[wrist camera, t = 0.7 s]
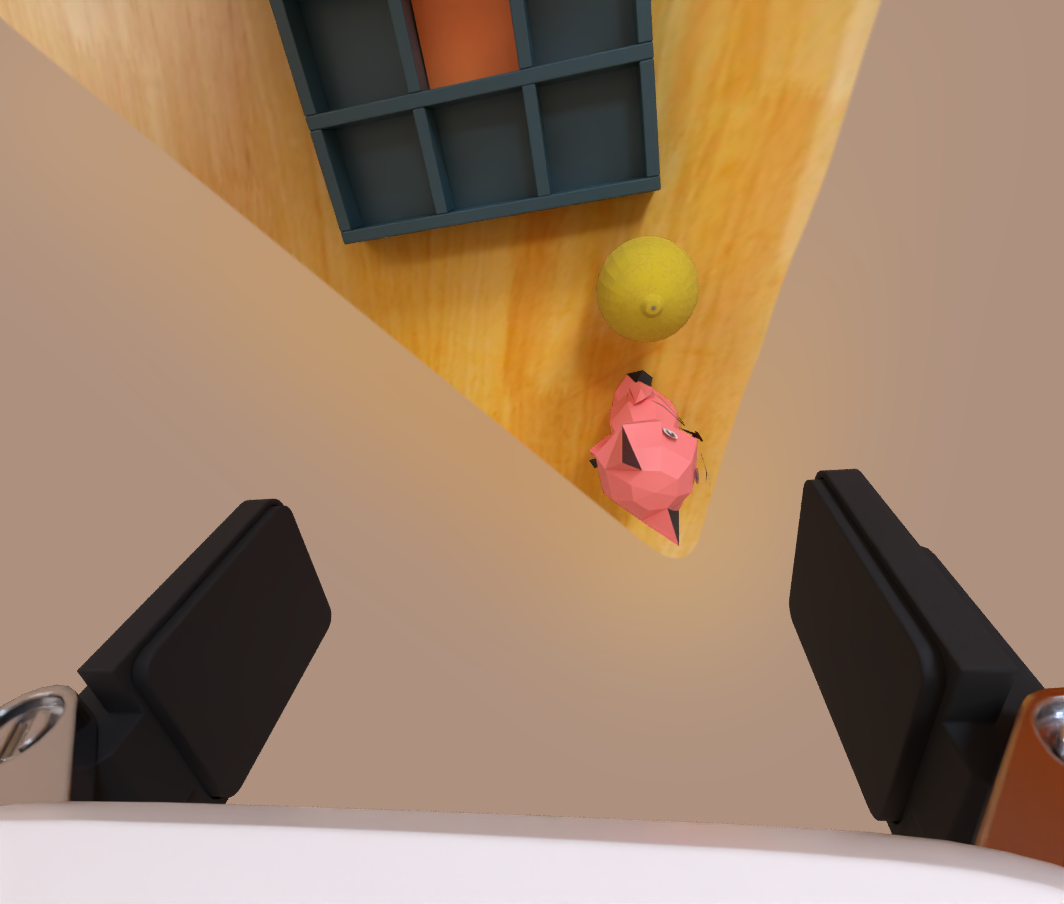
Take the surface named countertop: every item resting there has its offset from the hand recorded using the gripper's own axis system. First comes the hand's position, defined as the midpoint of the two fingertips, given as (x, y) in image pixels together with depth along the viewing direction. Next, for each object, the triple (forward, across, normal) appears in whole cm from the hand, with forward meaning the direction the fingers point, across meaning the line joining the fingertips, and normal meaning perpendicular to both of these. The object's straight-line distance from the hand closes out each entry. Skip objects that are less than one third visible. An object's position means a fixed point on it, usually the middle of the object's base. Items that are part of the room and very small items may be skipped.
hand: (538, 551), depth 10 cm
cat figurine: (+28, -3, +10) cm, 30 cm away
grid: (+28, +5, -13) cm, 31 cm away
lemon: (+28, -4, +1) cm, 28 cm away
